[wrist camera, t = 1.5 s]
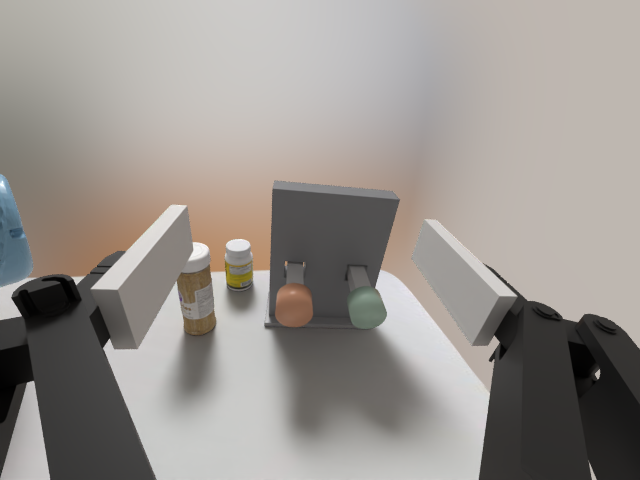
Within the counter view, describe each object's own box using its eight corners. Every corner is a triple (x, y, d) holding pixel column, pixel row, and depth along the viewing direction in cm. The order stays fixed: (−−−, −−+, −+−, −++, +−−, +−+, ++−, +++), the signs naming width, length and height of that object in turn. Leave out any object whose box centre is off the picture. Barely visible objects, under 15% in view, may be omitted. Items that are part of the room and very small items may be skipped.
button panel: (264, 326, 42) (267, 192, 31) (268, 295, 48) (272, 174, 37) (370, 328, 44) (407, 204, 33) (361, 299, 50) (390, 185, 39)
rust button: (274, 326, 33) (275, 299, 30) (279, 268, 43) (281, 244, 40) (310, 327, 33) (314, 300, 31) (307, 270, 43) (310, 246, 41)
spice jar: (178, 325, 41) (162, 249, 34) (205, 309, 44) (196, 237, 37) (195, 342, 39) (182, 265, 32) (223, 324, 42) (216, 250, 35)
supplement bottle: (231, 274, 52) (228, 236, 48) (255, 276, 52) (255, 239, 48) (222, 290, 48) (219, 250, 44) (249, 293, 48) (248, 253, 44)
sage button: (347, 328, 34) (354, 302, 32) (336, 271, 44) (340, 248, 42) (382, 329, 34) (390, 303, 32) (363, 273, 44) (368, 250, 42)
